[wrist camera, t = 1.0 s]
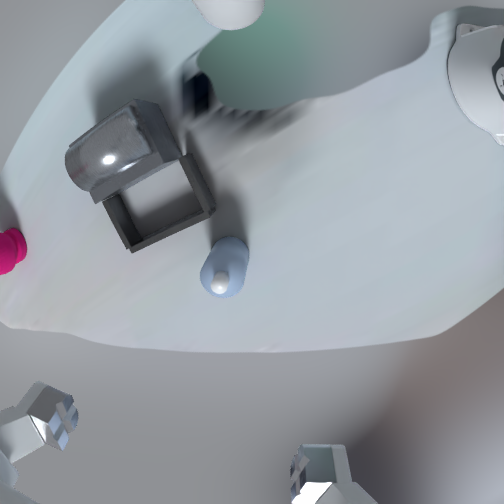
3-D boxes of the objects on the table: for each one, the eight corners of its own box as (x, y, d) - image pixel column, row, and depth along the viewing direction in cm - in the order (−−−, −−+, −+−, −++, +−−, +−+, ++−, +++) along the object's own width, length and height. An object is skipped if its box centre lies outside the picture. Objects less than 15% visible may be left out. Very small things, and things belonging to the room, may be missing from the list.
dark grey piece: (166, 98, 34) (131, 89, 24) (218, 209, 39) (200, 233, 29) (91, 146, 36) (46, 154, 27) (139, 245, 41) (106, 276, 32)
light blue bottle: (239, 231, 40) (229, 257, 31) (255, 264, 41) (250, 298, 33) (205, 245, 41) (187, 274, 32) (221, 276, 42) (209, 312, 34)
